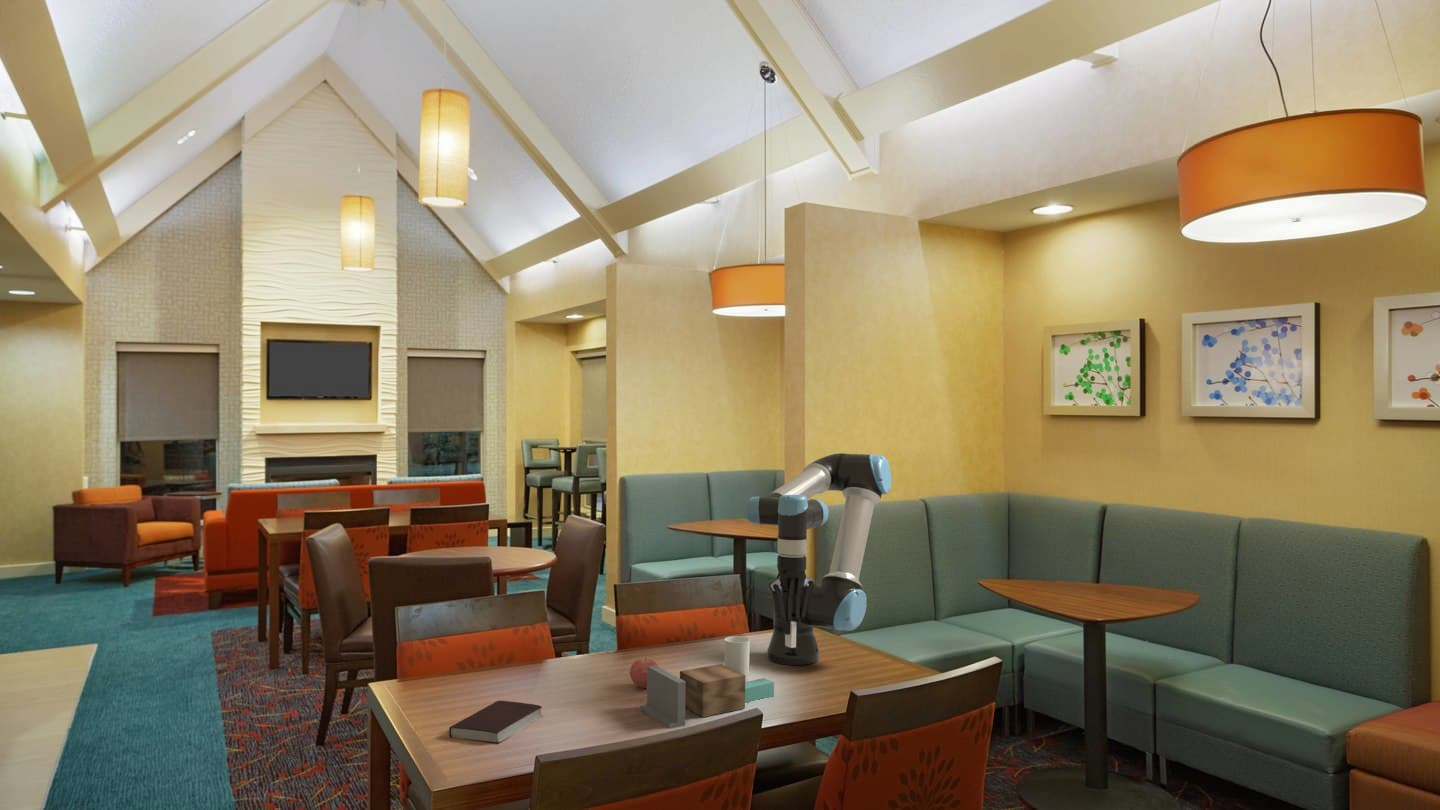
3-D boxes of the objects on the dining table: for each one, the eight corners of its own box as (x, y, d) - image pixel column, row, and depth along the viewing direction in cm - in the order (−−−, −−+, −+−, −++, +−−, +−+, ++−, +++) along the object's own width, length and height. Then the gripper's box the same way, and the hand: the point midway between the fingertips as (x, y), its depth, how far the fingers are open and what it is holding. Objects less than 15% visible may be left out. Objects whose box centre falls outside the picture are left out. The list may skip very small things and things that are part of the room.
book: (448, 739, 197) (448, 724, 197) (497, 711, 216) (497, 697, 216) (497, 747, 193) (497, 732, 193) (543, 718, 212) (543, 704, 212)
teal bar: (763, 693, 231) (763, 678, 231) (773, 697, 228) (774, 681, 228) (720, 704, 222) (720, 688, 222) (730, 708, 219) (730, 692, 219)
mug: (753, 687, 235) (754, 641, 235) (730, 690, 232) (730, 643, 232) (737, 676, 244) (737, 632, 244) (714, 679, 241) (715, 634, 242)
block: (720, 695, 227) (720, 664, 227) (745, 708, 218) (745, 675, 218) (679, 703, 221) (679, 671, 221) (702, 716, 211) (703, 682, 211)
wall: (654, 706, 219) (654, 665, 219) (685, 724, 206) (685, 681, 206) (639, 709, 217) (639, 667, 217) (669, 728, 204) (670, 684, 204)
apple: (663, 685, 236) (664, 654, 236) (650, 693, 229) (650, 662, 229) (639, 681, 239) (639, 651, 239) (624, 689, 232) (625, 658, 232)
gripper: (803, 551, 239) (801, 640, 239) (763, 554, 232) (761, 646, 232) (820, 555, 233) (819, 646, 232) (780, 558, 226) (778, 653, 225)
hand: (790, 646), depth 232 cm, fingers closed
